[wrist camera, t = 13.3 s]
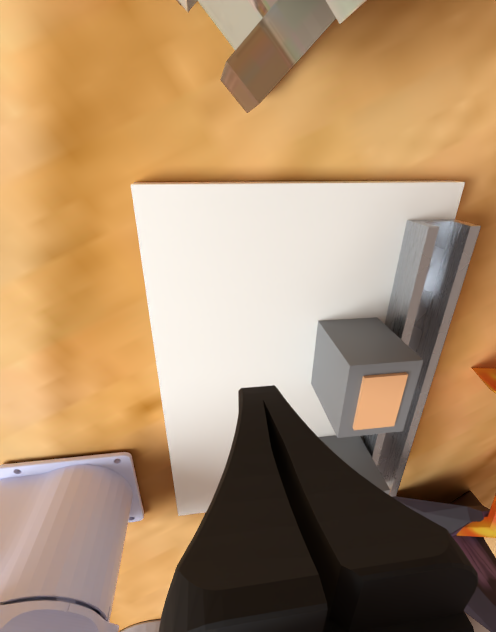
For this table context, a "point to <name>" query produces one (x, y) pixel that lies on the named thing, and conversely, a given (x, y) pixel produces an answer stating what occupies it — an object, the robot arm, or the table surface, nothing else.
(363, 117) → the table surface
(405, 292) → the rail
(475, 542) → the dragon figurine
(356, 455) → the mounted module
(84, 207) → the table surface
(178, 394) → the panel
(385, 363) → the block
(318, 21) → the toy
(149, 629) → the lamp
